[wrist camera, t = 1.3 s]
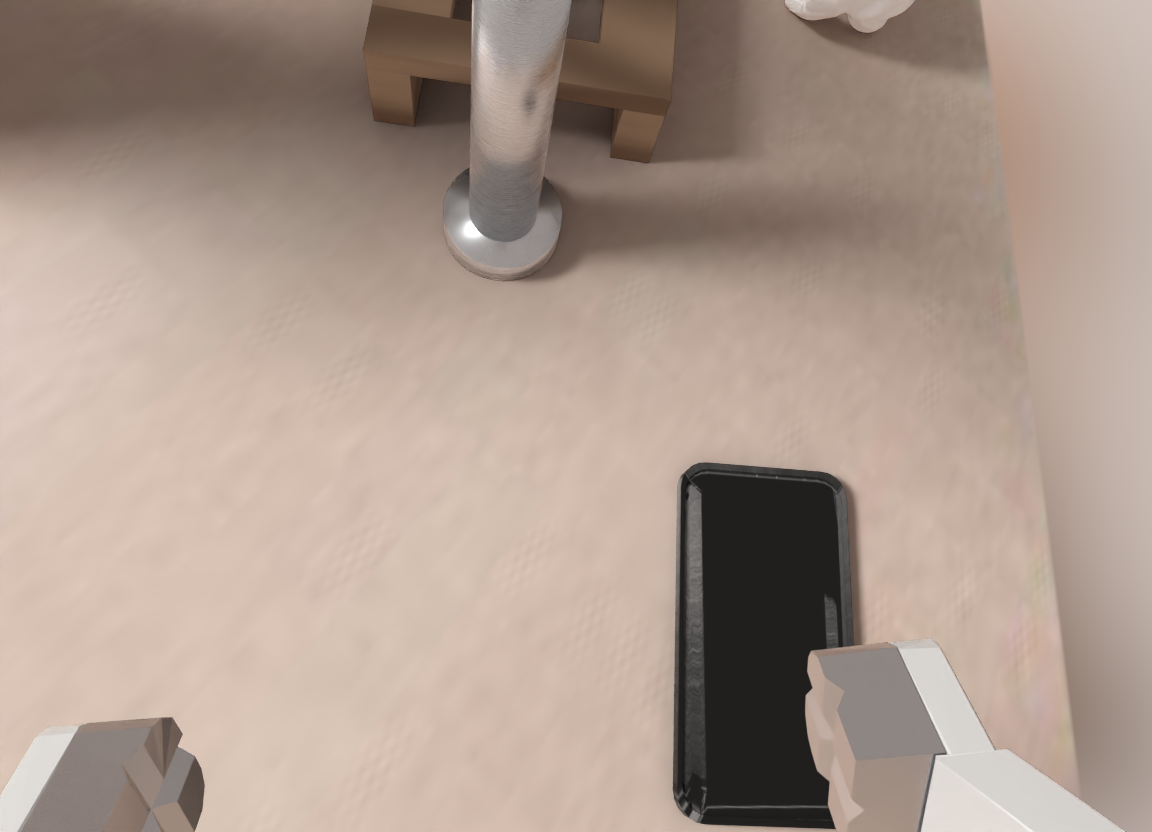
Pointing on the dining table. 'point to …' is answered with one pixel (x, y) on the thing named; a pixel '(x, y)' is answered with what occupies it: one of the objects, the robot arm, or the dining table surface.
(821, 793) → the phone
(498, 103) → the steel peg
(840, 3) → the white lumpy figurine
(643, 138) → the keyhole board
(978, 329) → the dining table surface
